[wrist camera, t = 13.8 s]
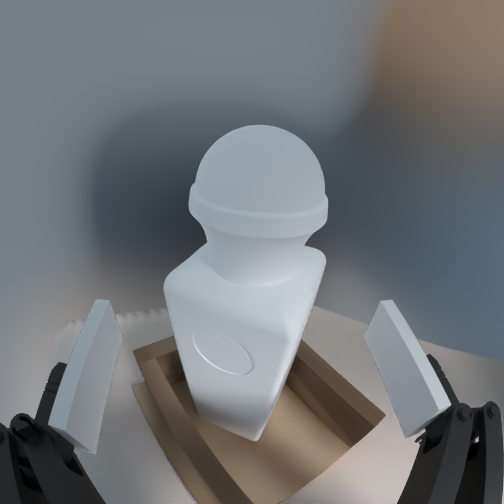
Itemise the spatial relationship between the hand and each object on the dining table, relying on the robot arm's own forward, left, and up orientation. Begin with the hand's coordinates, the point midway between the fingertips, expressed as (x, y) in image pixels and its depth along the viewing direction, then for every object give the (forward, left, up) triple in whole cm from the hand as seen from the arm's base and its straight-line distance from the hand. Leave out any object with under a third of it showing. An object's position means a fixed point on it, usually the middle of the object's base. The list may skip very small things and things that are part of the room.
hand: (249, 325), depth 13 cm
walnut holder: (-1, 0, -15) cm, 15 cm away
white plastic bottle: (-1, -2, -14) cm, 14 cm away
